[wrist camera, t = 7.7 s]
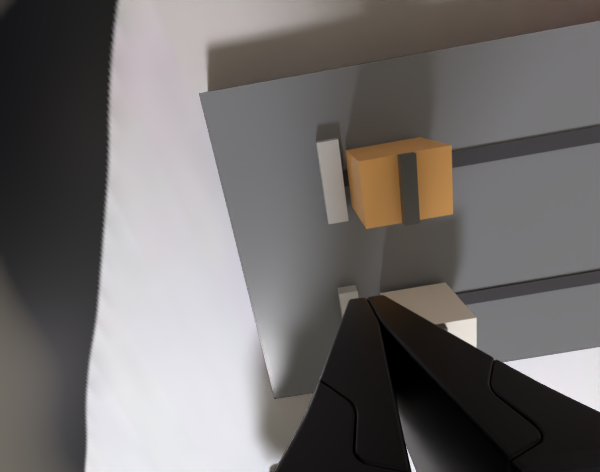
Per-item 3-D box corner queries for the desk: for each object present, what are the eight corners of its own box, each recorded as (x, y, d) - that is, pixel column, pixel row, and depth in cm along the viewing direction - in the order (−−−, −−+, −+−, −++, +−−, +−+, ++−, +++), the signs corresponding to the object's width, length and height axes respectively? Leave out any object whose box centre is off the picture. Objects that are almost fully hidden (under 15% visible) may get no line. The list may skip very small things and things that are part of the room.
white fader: (446, 325, 21) (480, 372, 17) (384, 335, 21) (405, 384, 17) (445, 282, 20) (481, 322, 16) (380, 292, 20) (401, 335, 16)
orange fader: (423, 193, 18) (457, 217, 15) (351, 206, 18) (368, 232, 15) (420, 136, 17) (456, 146, 14) (344, 150, 17) (360, 163, 14)
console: (633, 318, 24) (674, 343, 21) (275, 376, 25) (274, 407, 22) (688, 7, 18) (755, -9, 15) (207, 94, 18) (195, 93, 16)
